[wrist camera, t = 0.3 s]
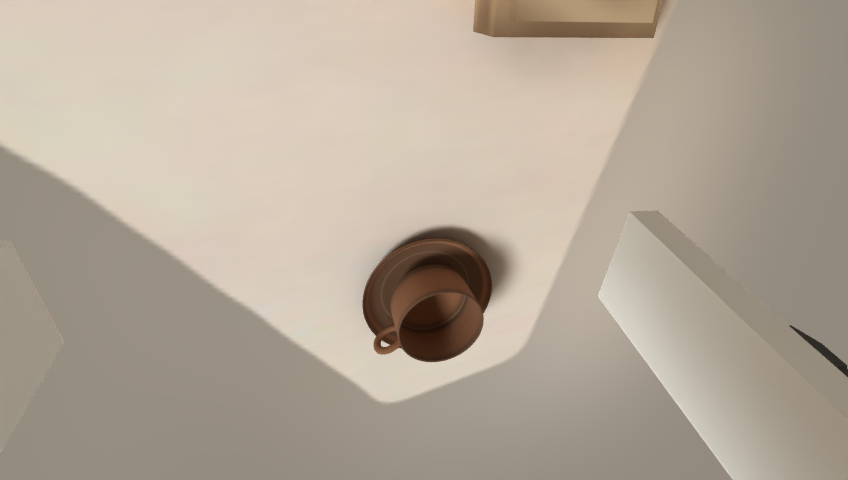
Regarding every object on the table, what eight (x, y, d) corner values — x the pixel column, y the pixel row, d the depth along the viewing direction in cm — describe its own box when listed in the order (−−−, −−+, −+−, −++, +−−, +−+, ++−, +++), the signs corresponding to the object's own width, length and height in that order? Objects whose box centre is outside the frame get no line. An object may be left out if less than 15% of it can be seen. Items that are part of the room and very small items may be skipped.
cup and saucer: (429, 353, 48) (446, 399, 42) (333, 304, 42) (338, 351, 37) (508, 269, 45) (537, 307, 40) (417, 205, 39) (435, 240, 34)
